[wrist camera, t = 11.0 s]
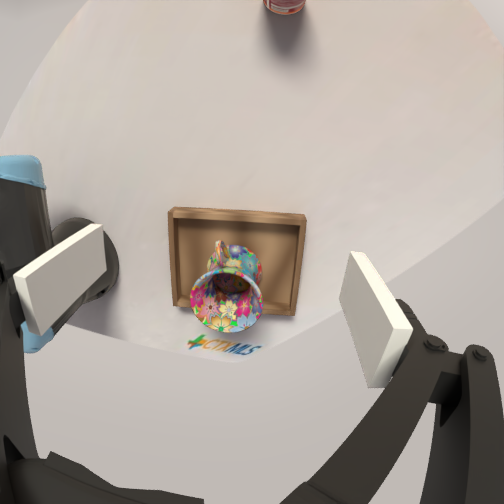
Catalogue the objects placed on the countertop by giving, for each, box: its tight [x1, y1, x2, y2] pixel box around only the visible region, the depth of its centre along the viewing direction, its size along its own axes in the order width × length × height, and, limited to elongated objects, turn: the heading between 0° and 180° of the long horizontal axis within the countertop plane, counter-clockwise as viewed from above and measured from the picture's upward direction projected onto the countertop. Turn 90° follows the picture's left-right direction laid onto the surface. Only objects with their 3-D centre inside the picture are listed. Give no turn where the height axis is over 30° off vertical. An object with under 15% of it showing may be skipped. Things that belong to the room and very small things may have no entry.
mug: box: [190, 240, 263, 333], centre depth 43 cm, size 12×9×11 cm
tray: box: [168, 207, 307, 316], centre depth 47 cm, size 20×16×3 cm
